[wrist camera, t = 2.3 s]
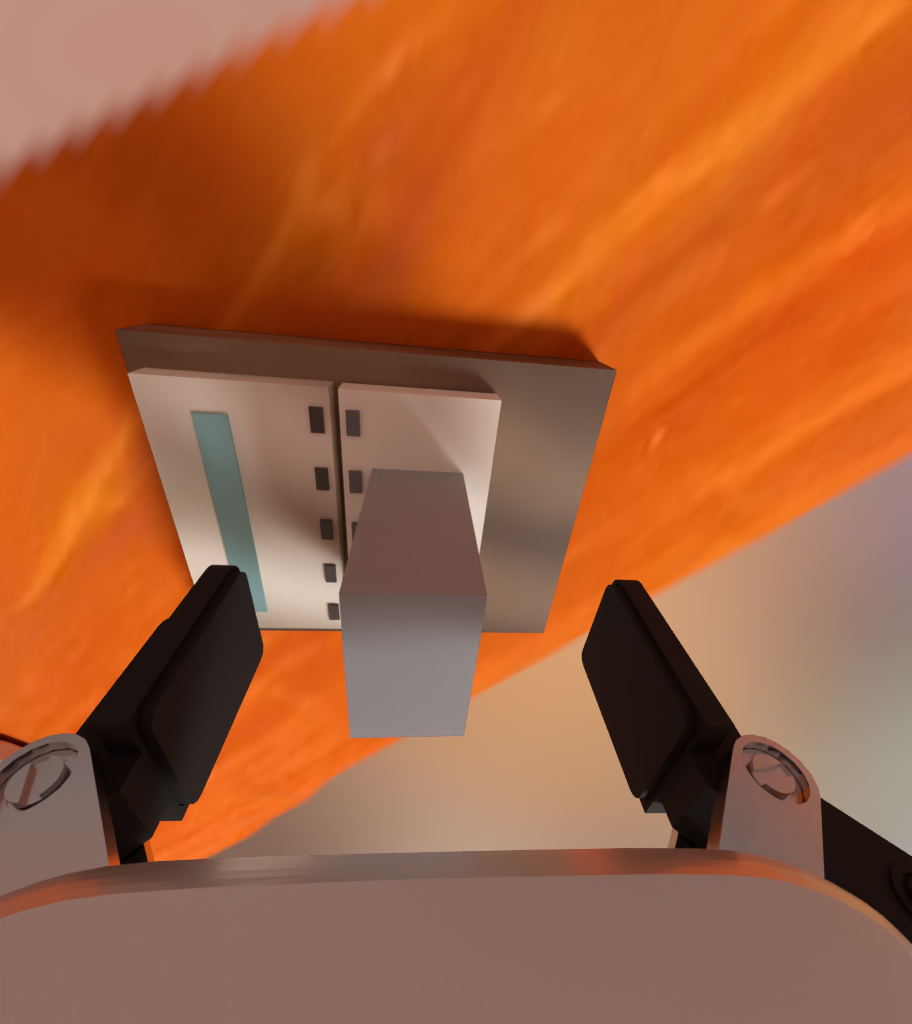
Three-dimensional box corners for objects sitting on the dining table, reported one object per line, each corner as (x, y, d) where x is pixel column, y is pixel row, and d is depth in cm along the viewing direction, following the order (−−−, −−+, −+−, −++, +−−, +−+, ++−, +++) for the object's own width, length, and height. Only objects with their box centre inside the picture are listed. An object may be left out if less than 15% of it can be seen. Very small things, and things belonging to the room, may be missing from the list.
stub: (466, 618, 18) (486, 782, 12) (355, 616, 17) (320, 788, 12) (497, 393, 13) (557, 491, 7) (342, 382, 12) (270, 477, 7)
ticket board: (535, 610, 20) (548, 647, 18) (224, 605, 19) (199, 646, 17) (599, 361, 14) (629, 376, 12) (146, 323, 13) (92, 333, 11)
